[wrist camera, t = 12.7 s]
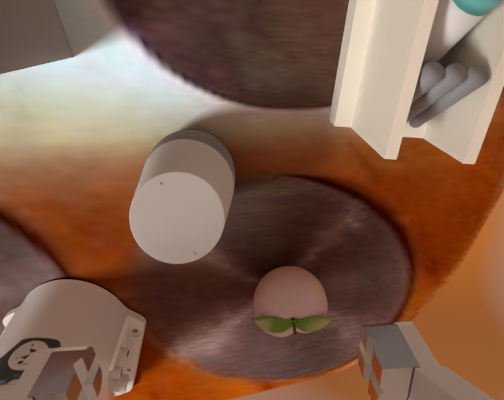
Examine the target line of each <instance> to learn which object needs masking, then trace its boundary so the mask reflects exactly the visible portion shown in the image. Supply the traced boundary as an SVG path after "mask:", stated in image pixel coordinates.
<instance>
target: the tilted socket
mask: <svg viewBox="0 0 504 400" xmlns="http://www.w3.org/2000/svg"><path fill="white" fill-rule="evenodd" d="M438 2H439V0H349V6H348V11H347V17H346V23H345V29H344V35H343V40H342V46H341V52H340V58H339V64H338V70H337V75H336V81H335V87H334V93H333V99H332V104H331V110H330V116H329V121H330V122H331V123H332V124H333V125H334V126H339V127H351V128H352V129H353V130H354V131H355V132H356V133H357V134H358V135H359V136H360V137H361V138H363V139H364V140H365V141H366V142H367V143H368V144H369V145H370V146H371V147H372V148H373V149H374V150H375V151H376V152H378V153H379V154H380V155H381V156H382V157H383V158H384V159H397V155H398V152H399V148H400V144H401V140H402V137H414V138H423V139H425V140H427V141H428V142H430V143H431V144H433V145H434V146H436V147H438V148H439V149H441V150H442V151H444V152H446V153H447V154H449V155H450V156H452V157H453V158H455V159H457V160H458V161H460V162H461V163H463V164H475V162H476V159H477V157H478V154H479V151H480V149H481V146H482V143H483V140H484V138H485V135H486V132H487V130H488V127H489V124H490V122H491V119H492V116H493V113H494V111H495V108H496V105H497V103H498V100H499V97H500V94H501V92H502V89H503V86H504V0H502V1H501V2H500V3H499V4H498V5H497V6H496V7H495V8H494V9H493V10H492V11H491V12H490V13H488V14H487V15H485V16H484V17H483V18H482V19H481V20H480V21H479V22H478V23H477V24H476V25H475V26H474V27H473V28H471V29H470V30H469V31H468V32H467V33H466V34H465V35H464V36H463V37H462V38H461V39H460V40H459V41H458V42H457V43H456V44H455V45H454V46H453V47H452V48H451V49H450V50H449V51H448V52H447V53H446V54H445V55H444V56H443V57H442V58H441V59H440V60H439V61H438V62H435V61H431V62H428V63H426V64H425V65H424V66H423V67H422V68H421V66H422V62H423V58H424V54H425V51H426V47H427V43H428V39H429V36H430V32H431V28H432V24H433V21H434V17H435V13H436V9H437V6H438Z"/></svg>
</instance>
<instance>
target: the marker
mask: <svg viewBox="0 0 504 400" xmlns="http://www.w3.org/2000/svg"><path fill="white" fill-rule="evenodd" d="M501 1H502V0H439V2H438V6H437V9H436V13H435V17H434V21H433V24H432V28H431V32H430V36H429V39H428V43H427V47H426V51H425V54H424V58H423V62H422V66H421V68H422V67H423V66H424V65H425V64H426V63H428V62H431V61H435V62H438V61H439V60H440V59H441V58H442V57H443V56H444V55H445V54H446V53H447V52H448V51H449V50H450V49H451V48H452V47H453V46H454V45H455V44H456V43H457V42H458V41H459V40H460V39H461V38H462V37H463V36H464V35H465V34H466V33H467V32H468V31H469V30H470V29H471V28H473V27H474V26H475V25H476V24H477V23H478V22H479V21H480V20H481V19H482V18H483V17H484V16H485V15H487V14H488V13H490V12H491V11H492V10H493V9H494V8H495V7H496V6H497V5H498V4H499V3H500V2H501Z"/></svg>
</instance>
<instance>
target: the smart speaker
mask: <svg viewBox="0 0 504 400" xmlns="http://www.w3.org/2000/svg"><path fill="white" fill-rule="evenodd" d="M234 187H235V167H234V163H233V160H232V157H231V155H230V153H229V152H228V150H227V148H226V147H225V146H224V145H223V144H222V143H221V142H220V141H219V140H218V139H217V138H215V137H214V136H212V135H210V134H208V133H206V132H203V131H199V130H181V131H177V132H174V133H172V134H170V135H168V136H166V137H165V138H163V139H162V140H161V141H160V142H159V143H158V144H157V145H156V146H155V147H154V149H153V150H152V151H151V153H150V155H149V157H148V159H147V161H146V163H145V166H144V169H143V172H142V174H141V177H140V180H139V183H138V186H137V189H136V192H135V195H134V197H133V200H132V203H131V207H130V213H129V221H130V227H131V231H132V234H133V236H134V238H135V240H136V242H137V243H138V245H139V246H140V247H141V248H142V249H143V250H144V251H145V252H146V253H147V254H148V255H150V256H151V257H153V258H155V259H157V260H159V261H162V262H165V263H171V264H183V263H189V262H192V261H195V260H197V259H199V258H201V257H203V256H204V255H206V254H207V253H208V252H210V251H211V250H212V249H213V248H214V246H215V245H216V244H217V242H218V241H219V239H220V237H221V235H222V232H223V229H224V226H225V222H226V218H227V215H228V211H229V208H230V204H231V201H232V197H233V193H234Z"/></svg>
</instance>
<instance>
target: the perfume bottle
mask: <svg viewBox="0 0 504 400" xmlns="http://www.w3.org/2000/svg"><path fill="white" fill-rule="evenodd" d="M71 57H73V54H72V51H71V48H70V46H69V43H68V40H67V37H66V34H65V32H64V29H63V26H62V23H61V20H60V18H59V15H58V12H57V9H56V6H55V4H54V1H53V0H0V74H2V73H6V72H11V71H15V70H19V69H24V68H28V67H32V66H37V65H41V64H45V63H50V62H54V61H58V60H62V59H67V58H71Z"/></svg>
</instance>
